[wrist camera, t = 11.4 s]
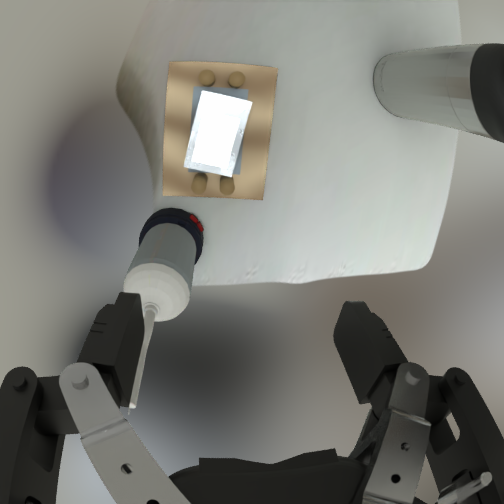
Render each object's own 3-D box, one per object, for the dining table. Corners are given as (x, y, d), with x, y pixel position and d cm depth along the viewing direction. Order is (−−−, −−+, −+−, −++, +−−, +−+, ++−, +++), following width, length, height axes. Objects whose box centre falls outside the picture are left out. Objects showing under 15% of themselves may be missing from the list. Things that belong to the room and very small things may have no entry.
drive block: (248, 102, 29) (252, 101, 26) (230, 169, 33) (231, 177, 29) (204, 92, 28) (202, 90, 25) (187, 159, 32) (183, 167, 28)
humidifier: (211, 218, 37) (206, 388, 15) (193, 271, 40) (178, 442, 18) (151, 199, 35) (66, 349, 13) (137, 254, 38) (75, 415, 16)
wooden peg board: (171, 63, 27) (163, 56, 23) (276, 69, 29) (284, 64, 25) (164, 192, 34) (157, 205, 30) (261, 197, 36) (267, 209, 32)
